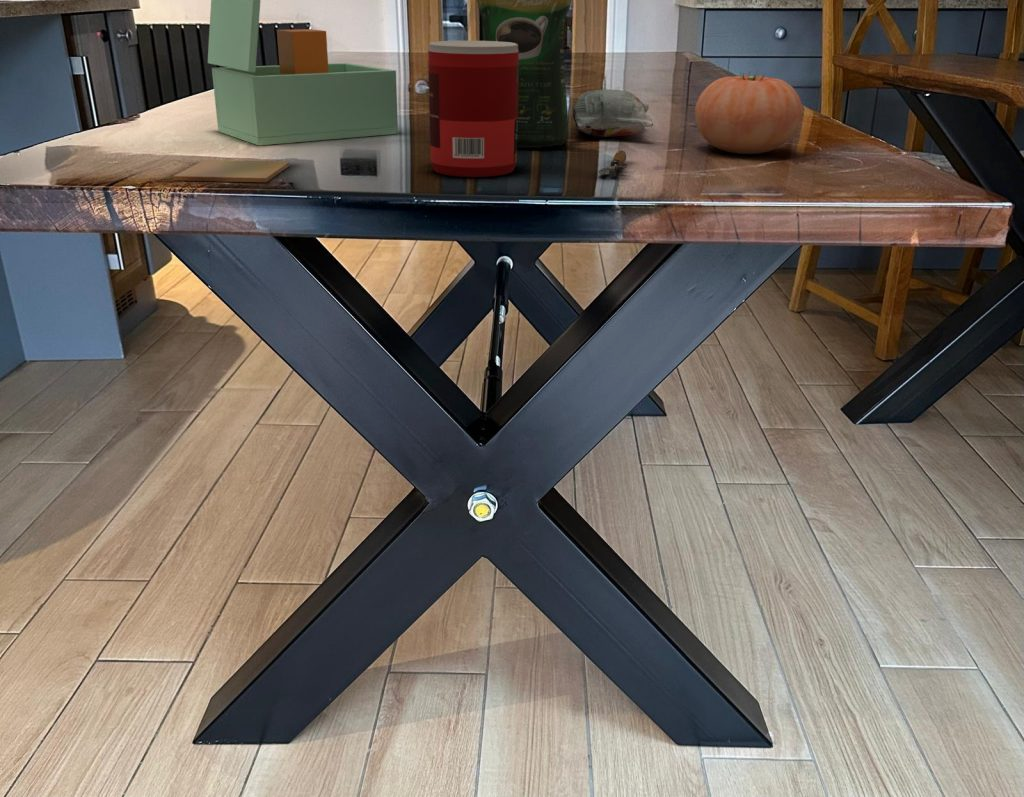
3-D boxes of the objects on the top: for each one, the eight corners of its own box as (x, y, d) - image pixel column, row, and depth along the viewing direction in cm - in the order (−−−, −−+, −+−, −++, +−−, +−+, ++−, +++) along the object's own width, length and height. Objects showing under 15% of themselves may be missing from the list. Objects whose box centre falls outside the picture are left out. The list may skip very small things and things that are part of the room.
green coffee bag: (570, 140, 105) (576, -46, 98) (564, 151, 98) (571, -48, 91) (483, 137, 106) (483, -47, 99) (471, 148, 99) (471, -49, 92)
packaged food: (647, 128, 114) (649, 85, 112) (651, 144, 104) (654, 96, 102) (574, 127, 115) (575, 84, 113) (571, 142, 104) (572, 95, 102)
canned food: (533, 172, 87) (536, 44, 83) (461, 181, 83) (460, 46, 78) (484, 160, 93) (484, 39, 88) (414, 167, 88) (411, 41, 84)
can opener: (615, 161, 93) (616, 149, 92) (639, 162, 92) (640, 150, 92) (594, 178, 85) (594, 165, 84) (620, 180, 84) (620, 166, 84)
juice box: (298, 128, 105) (291, 31, 101) (283, 124, 108) (276, 29, 104) (332, 126, 107) (326, 30, 103) (316, 122, 110) (310, 29, 106)
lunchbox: (350, 121, 116) (347, 62, 114) (398, 133, 108) (396, 70, 105) (218, 131, 107) (211, 67, 105) (258, 145, 99) (252, 76, 96)
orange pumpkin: (819, 156, 98) (831, 74, 95) (739, 163, 93) (748, 78, 90) (747, 141, 107) (756, 65, 103) (670, 147, 102) (676, 68, 98)
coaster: (173, 180, 81) (173, 175, 81) (204, 164, 89) (204, 159, 89) (266, 182, 81) (266, 177, 81) (289, 166, 89) (289, 161, 88)
